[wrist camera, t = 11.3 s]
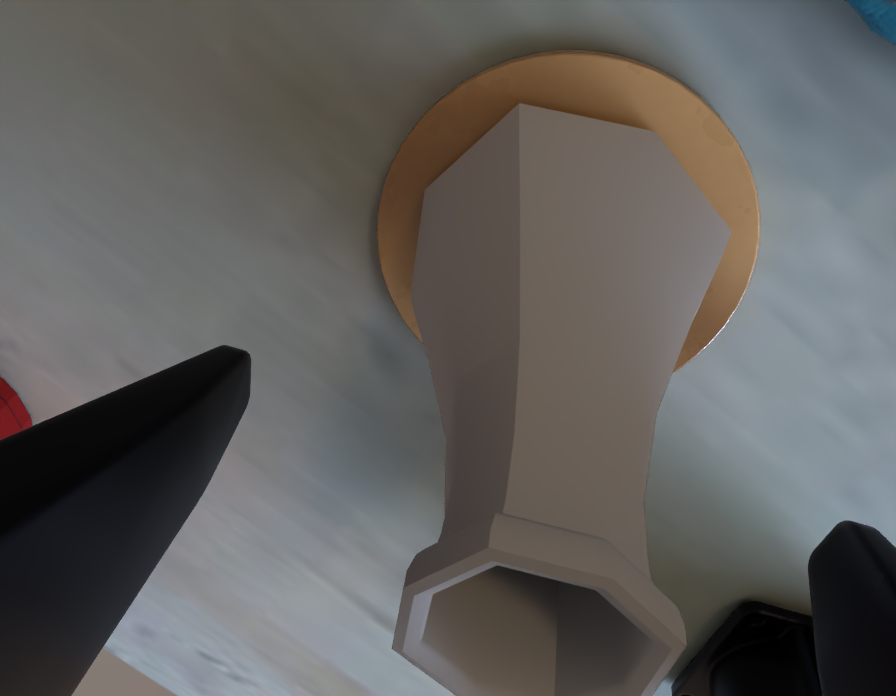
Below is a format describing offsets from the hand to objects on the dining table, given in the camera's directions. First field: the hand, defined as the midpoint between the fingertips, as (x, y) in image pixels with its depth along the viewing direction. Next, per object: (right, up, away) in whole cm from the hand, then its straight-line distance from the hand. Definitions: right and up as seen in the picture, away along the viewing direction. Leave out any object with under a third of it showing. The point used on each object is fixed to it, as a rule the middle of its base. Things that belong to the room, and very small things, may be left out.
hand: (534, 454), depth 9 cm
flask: (+1, +4, +6) cm, 7 cm away
